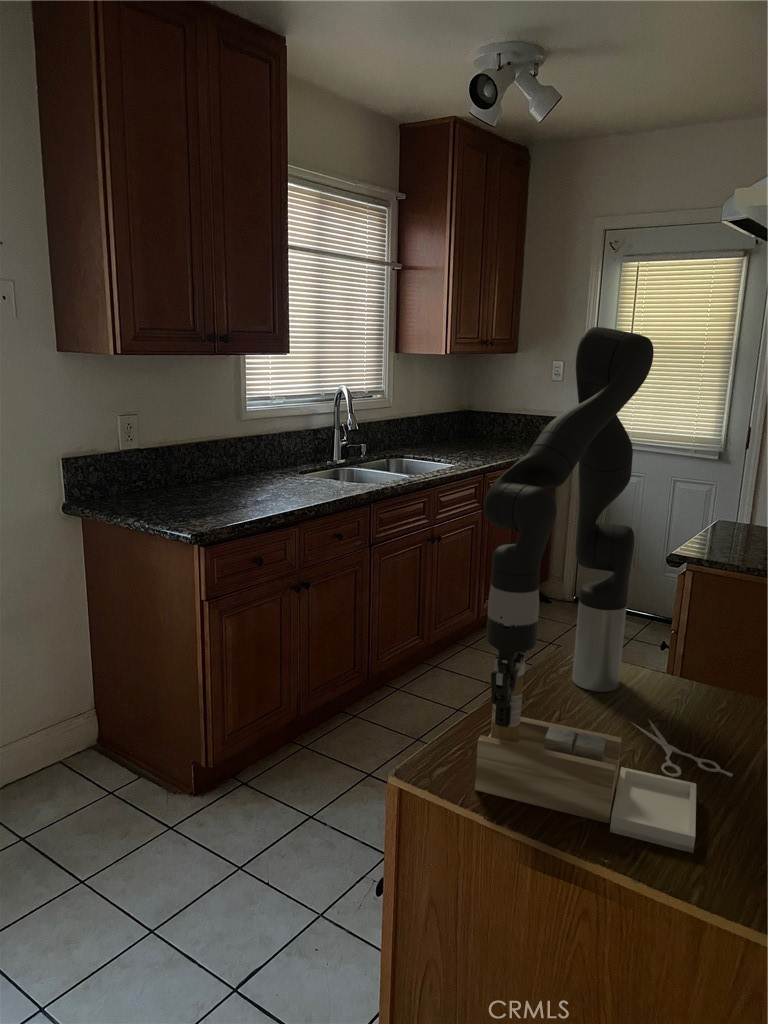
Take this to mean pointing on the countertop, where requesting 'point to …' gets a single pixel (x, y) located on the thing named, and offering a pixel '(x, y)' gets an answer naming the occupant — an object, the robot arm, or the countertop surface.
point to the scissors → (670, 749)
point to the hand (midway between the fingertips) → (506, 717)
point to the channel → (548, 772)
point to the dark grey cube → (590, 747)
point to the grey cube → (560, 740)
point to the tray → (655, 809)
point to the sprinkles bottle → (513, 729)
